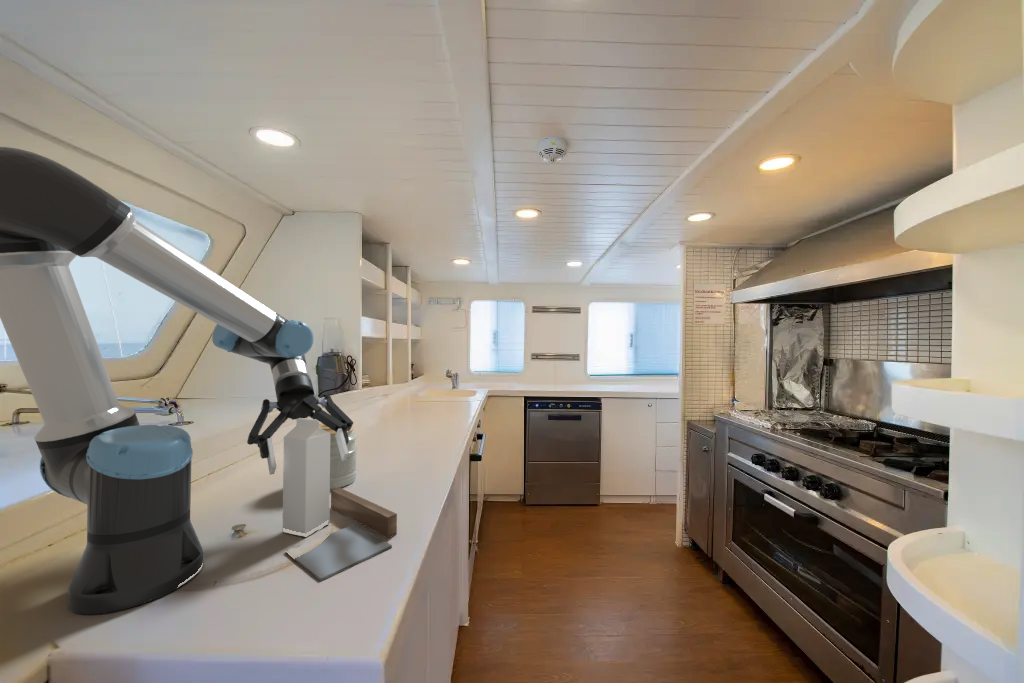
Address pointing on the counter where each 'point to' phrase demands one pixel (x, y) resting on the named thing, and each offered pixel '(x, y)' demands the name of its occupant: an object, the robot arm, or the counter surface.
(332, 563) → the guide jig
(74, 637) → the counter surface
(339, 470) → the jar
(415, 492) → the counter surface
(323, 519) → the milk
